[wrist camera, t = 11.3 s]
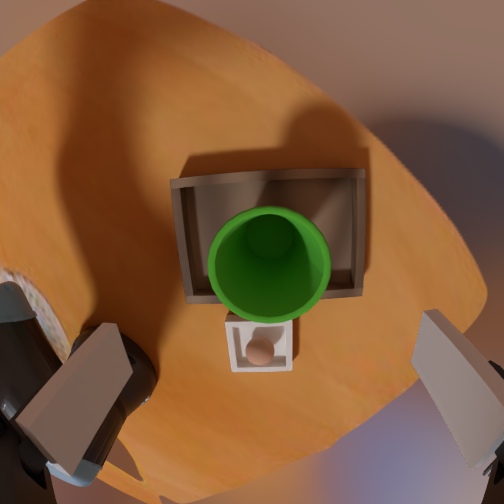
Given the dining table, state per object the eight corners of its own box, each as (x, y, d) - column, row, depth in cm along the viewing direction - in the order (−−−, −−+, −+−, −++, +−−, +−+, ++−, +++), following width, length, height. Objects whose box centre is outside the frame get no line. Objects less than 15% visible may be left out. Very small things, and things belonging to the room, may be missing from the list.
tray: (192, 293, 34) (186, 303, 31) (178, 178, 30) (169, 179, 27) (355, 286, 32) (362, 295, 30) (357, 168, 28) (365, 168, 26)
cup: (232, 189, 29) (210, 199, 19) (317, 199, 29) (342, 216, 18) (225, 268, 32) (203, 316, 21) (304, 278, 31) (318, 330, 21)
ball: (247, 354, 35) (245, 371, 32) (245, 331, 34) (242, 348, 31) (274, 353, 35) (275, 370, 31) (274, 330, 34) (274, 347, 30)
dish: (233, 363, 37) (231, 371, 35) (227, 314, 34) (224, 321, 33) (291, 362, 36) (292, 370, 34) (291, 312, 34) (292, 319, 32)
